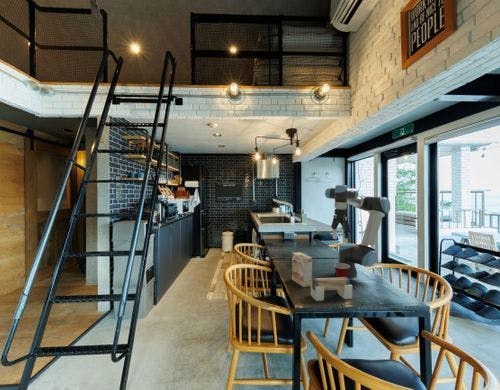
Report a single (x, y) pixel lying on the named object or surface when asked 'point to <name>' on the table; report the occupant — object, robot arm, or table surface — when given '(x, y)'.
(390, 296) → the table surface
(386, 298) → the table surface
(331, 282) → the rail
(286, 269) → the table surface
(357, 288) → the table surface
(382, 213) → the robot arm
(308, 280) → the coffeecake box
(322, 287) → the head post
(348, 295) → the foot post
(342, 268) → the plastic cup
